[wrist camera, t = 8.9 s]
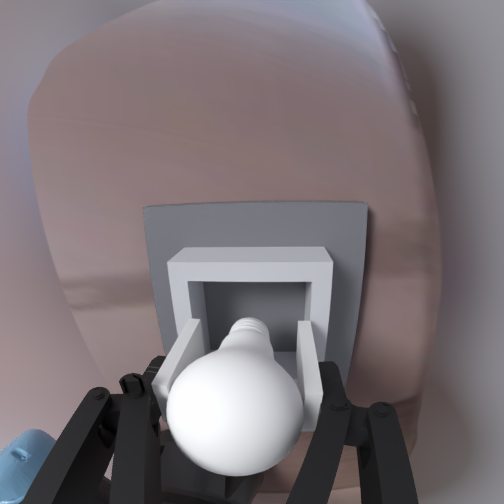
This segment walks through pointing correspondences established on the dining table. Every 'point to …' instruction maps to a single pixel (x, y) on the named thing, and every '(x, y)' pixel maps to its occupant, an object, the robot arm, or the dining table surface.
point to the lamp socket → (260, 272)
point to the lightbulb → (236, 405)
